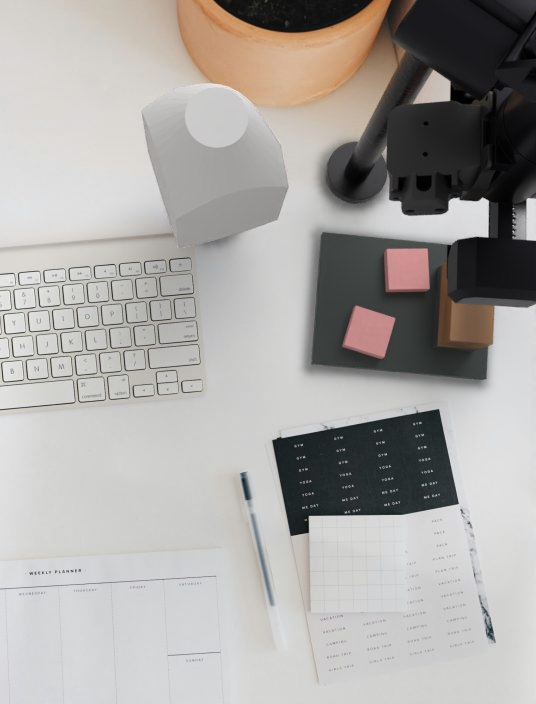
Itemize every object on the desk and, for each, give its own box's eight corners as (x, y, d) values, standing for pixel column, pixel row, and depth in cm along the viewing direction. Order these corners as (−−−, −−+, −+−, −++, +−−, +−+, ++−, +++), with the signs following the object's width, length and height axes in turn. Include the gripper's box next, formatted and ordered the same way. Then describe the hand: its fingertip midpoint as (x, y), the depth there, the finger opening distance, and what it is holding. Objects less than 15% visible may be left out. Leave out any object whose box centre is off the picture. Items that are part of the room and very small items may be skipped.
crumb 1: (392, 320, 72) (395, 318, 71) (381, 359, 71) (384, 357, 70) (353, 307, 72) (355, 305, 71) (341, 346, 71) (344, 344, 70)
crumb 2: (424, 251, 73) (427, 248, 72) (426, 291, 72) (429, 289, 71) (383, 252, 72) (386, 248, 71) (385, 292, 72) (388, 289, 71)
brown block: (476, 272, 73) (497, 258, 68) (472, 352, 72) (493, 344, 67) (436, 268, 73) (454, 254, 68) (432, 348, 72) (449, 340, 67)
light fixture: (270, 240, 73) (297, 159, 53) (180, 266, 72) (173, 195, 52) (242, 152, 74) (258, 41, 54) (152, 178, 73) (135, 74, 53)
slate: (488, 251, 74) (492, 248, 73) (482, 380, 73) (486, 379, 72) (320, 234, 73) (322, 231, 72) (311, 364, 72) (312, 363, 71)
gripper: (418, -41, 44) (358, 88, 59) (411, 268, 42) (351, 317, 57) (601, -24, 44) (494, 99, 60) (601, 280, 43) (491, 326, 58)
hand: (455, 208), depth 59 cm, fingers open, 9 cm apart
